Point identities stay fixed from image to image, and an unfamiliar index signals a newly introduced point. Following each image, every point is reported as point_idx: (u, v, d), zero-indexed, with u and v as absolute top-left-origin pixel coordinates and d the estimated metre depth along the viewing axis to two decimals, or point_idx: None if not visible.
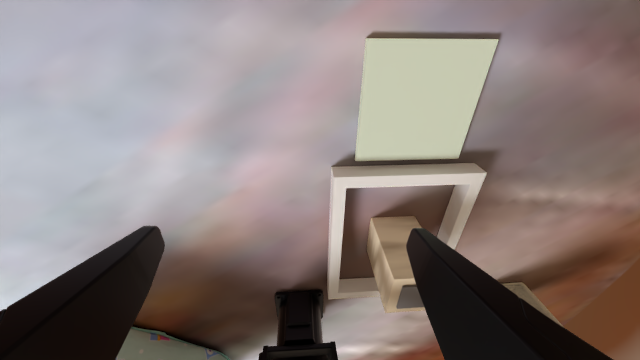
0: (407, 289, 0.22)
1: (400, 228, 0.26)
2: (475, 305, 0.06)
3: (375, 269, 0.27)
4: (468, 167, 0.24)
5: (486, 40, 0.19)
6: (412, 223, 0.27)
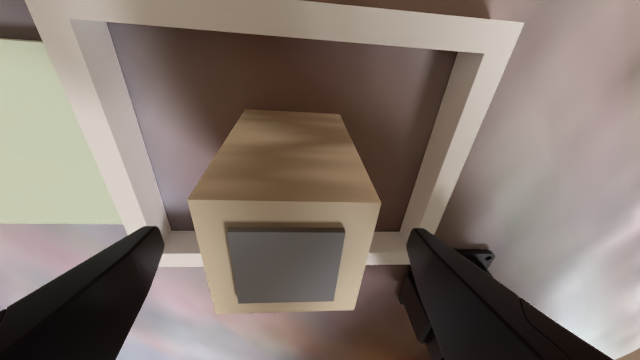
0: (247, 295, 0.08)
1: None
2: (475, 305, 0.06)
3: None
4: None
5: None
6: None
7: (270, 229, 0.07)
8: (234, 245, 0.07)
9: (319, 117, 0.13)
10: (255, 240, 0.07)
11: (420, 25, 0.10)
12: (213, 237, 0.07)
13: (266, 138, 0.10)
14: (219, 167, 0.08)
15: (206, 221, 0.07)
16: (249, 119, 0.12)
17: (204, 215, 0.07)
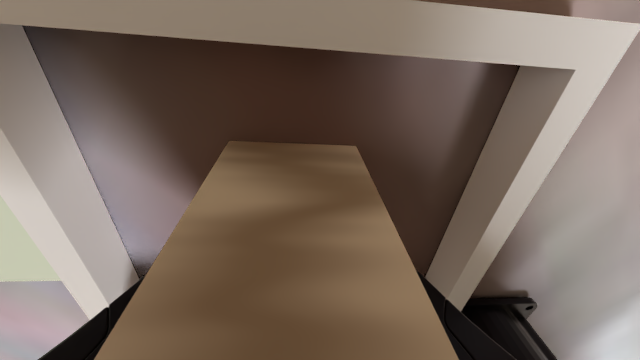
0: None
1: None
2: None
3: None
4: None
5: None
6: None
7: None
8: None
9: (329, 153, 0.09)
10: None
11: (487, 28, 0.06)
12: None
13: (253, 199, 0.07)
14: (161, 284, 0.04)
15: None
16: (231, 161, 0.08)
17: None
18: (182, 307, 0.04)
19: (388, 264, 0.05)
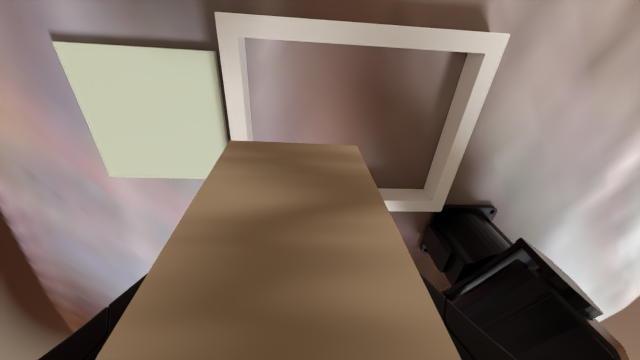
0: None
1: None
2: None
3: None
4: None
5: (60, 57, 0.16)
6: None
7: None
8: None
9: (330, 152, 0.09)
10: None
11: (444, 36, 0.16)
12: None
13: (254, 199, 0.07)
14: (162, 283, 0.04)
15: None
16: (232, 160, 0.08)
17: None
18: (183, 306, 0.04)
19: (390, 263, 0.05)
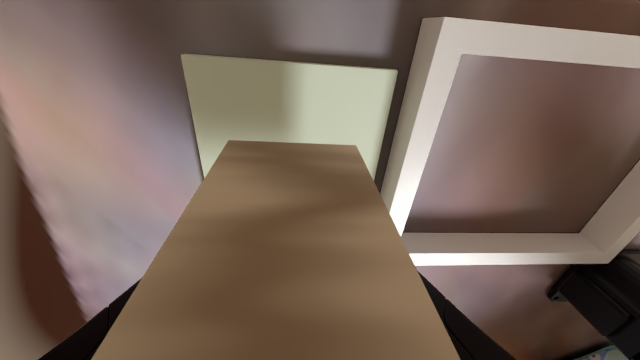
0: None
1: None
2: None
3: None
4: (423, 47, 0.11)
5: (186, 77, 0.11)
6: None
7: None
8: None
9: (329, 152, 0.09)
10: None
11: None
12: None
13: (252, 198, 0.06)
14: (159, 284, 0.04)
15: None
16: (231, 160, 0.08)
17: None
18: (180, 307, 0.04)
19: (389, 264, 0.05)
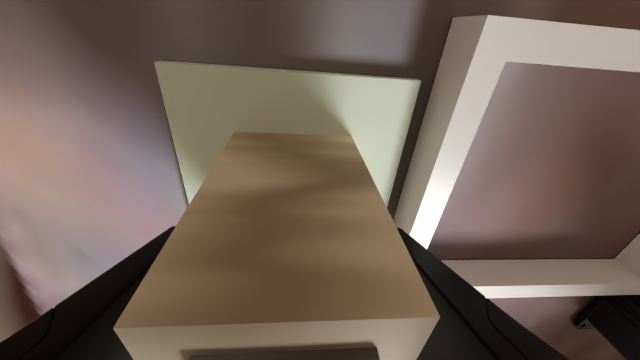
0: None
1: None
2: (441, 306, 0.06)
3: None
4: (455, 53, 0.09)
5: (162, 89, 0.09)
6: None
7: (259, 354, 0.04)
8: None
9: (327, 142, 0.10)
10: None
11: None
12: None
13: (258, 179, 0.07)
14: (183, 242, 0.05)
15: (152, 352, 0.04)
16: (237, 149, 0.09)
17: (147, 345, 0.04)
18: (202, 259, 0.05)
19: (376, 230, 0.06)
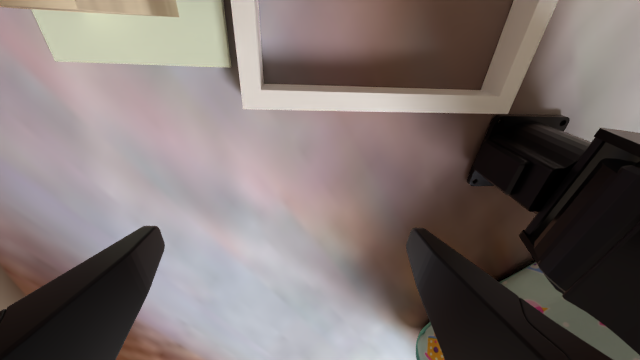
0: None
1: None
2: (475, 305, 0.06)
3: (120, 13, 0.11)
4: None
5: None
6: None
7: None
8: None
9: None
10: None
11: None
12: None
13: None
14: None
15: None
16: None
17: None
18: None
19: None
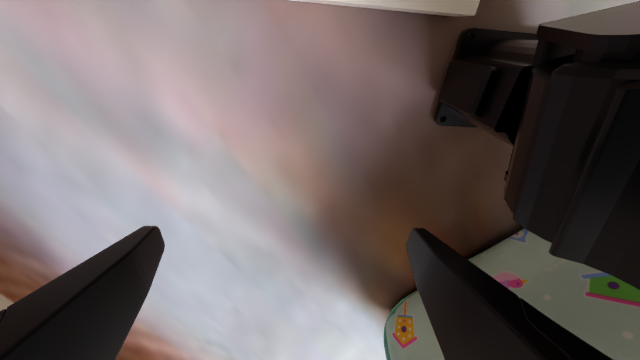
0: None
1: None
2: (475, 305, 0.06)
3: None
4: None
5: None
6: None
7: None
8: None
9: None
10: None
11: None
12: None
13: None
14: None
15: None
16: None
17: None
18: None
19: None
